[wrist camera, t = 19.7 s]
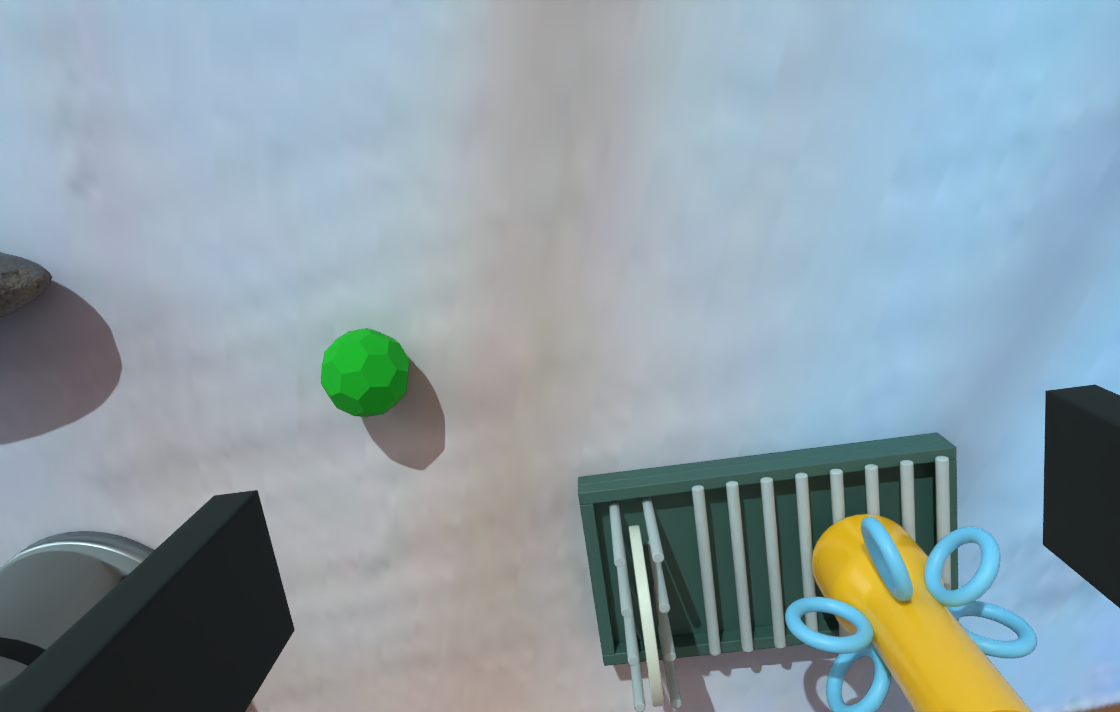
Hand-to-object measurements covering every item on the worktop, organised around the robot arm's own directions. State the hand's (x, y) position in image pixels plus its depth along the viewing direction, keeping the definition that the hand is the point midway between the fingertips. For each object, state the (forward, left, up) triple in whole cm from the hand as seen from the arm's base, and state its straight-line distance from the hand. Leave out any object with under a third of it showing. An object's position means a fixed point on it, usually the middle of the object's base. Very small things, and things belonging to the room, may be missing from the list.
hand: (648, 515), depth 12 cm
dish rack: (+8, -19, -32) cm, 38 cm away
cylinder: (+13, -19, -29) cm, 37 cm away
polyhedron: (-14, -4, -32) cm, 35 cm away
